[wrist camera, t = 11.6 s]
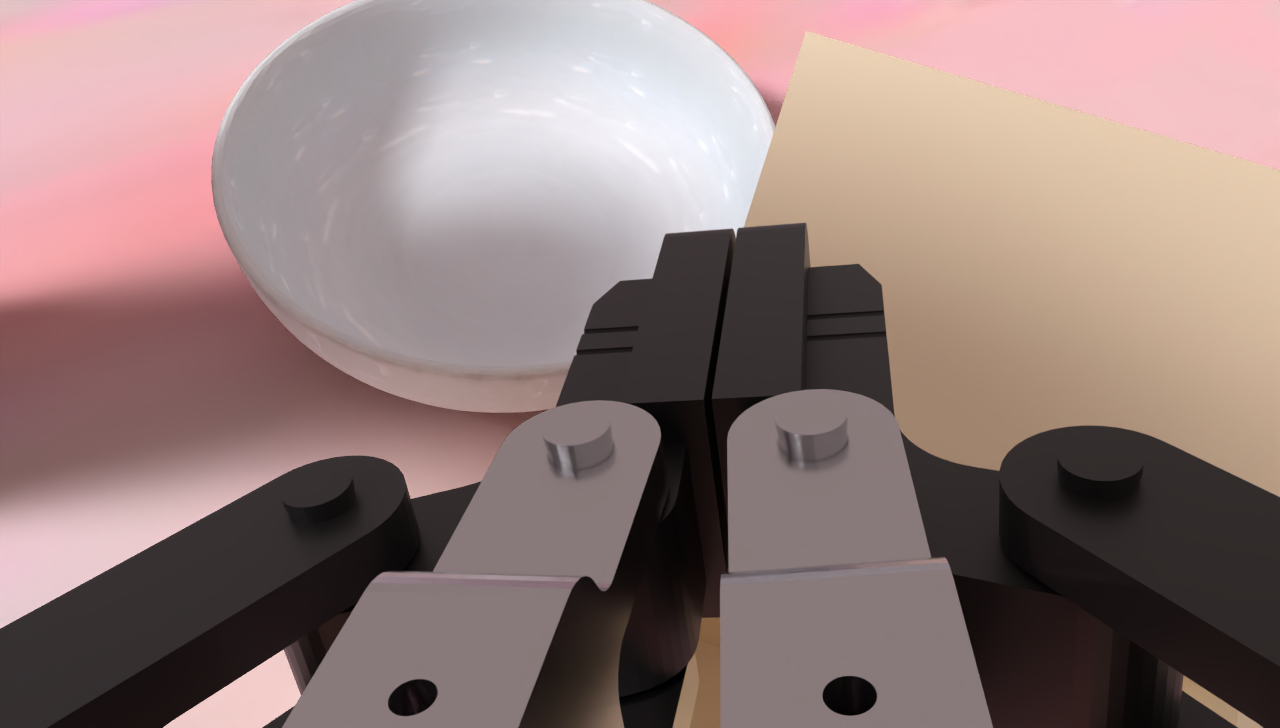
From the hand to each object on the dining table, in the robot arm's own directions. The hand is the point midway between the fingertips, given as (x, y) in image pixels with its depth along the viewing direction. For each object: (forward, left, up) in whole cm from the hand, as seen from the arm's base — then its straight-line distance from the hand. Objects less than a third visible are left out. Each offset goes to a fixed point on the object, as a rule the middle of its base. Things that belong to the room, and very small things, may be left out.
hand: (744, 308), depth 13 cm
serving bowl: (-24, +2, -28) cm, 37 cm away
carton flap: (-6, +11, -12) cm, 17 cm away
